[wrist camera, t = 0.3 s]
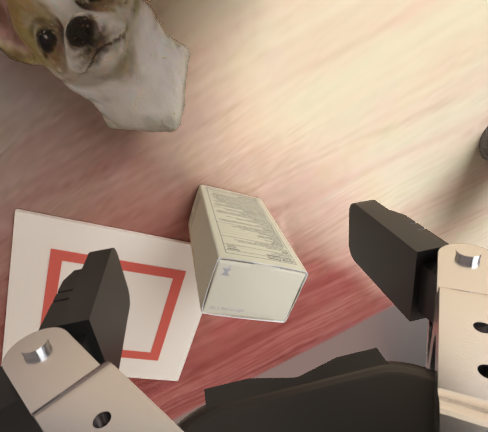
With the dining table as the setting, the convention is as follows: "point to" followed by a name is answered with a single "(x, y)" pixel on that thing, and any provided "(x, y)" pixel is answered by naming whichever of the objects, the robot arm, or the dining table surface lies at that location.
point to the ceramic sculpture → (103, 56)
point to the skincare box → (242, 258)
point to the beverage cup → (484, 144)
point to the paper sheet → (137, 278)
